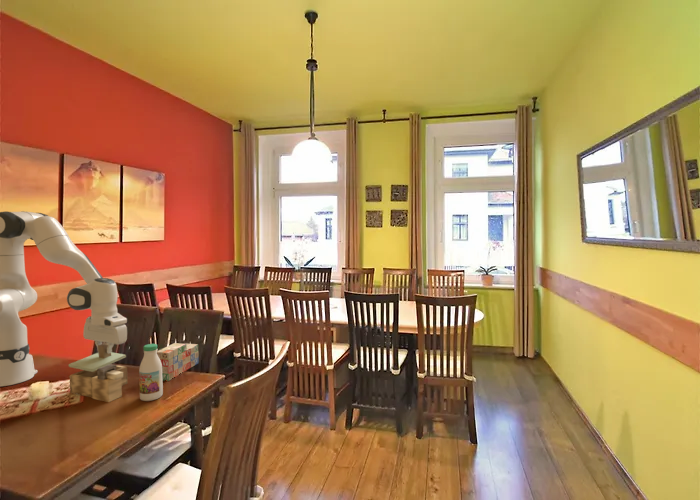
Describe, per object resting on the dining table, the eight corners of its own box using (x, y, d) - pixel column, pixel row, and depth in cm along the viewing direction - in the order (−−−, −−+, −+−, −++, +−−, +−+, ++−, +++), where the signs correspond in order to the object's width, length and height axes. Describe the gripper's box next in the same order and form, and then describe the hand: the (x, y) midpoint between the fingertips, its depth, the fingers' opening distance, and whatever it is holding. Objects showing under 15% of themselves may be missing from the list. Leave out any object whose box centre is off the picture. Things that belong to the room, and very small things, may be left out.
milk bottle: (146, 392, 143) (145, 342, 142) (166, 392, 143) (165, 342, 142) (135, 401, 136) (134, 348, 135) (156, 401, 136) (155, 348, 135)
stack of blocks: (187, 362, 176) (186, 337, 176) (199, 363, 175) (198, 337, 175) (155, 379, 155) (155, 351, 155) (168, 381, 154) (168, 352, 154)
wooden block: (98, 376, 138) (98, 371, 138) (105, 374, 140) (105, 368, 140) (116, 380, 135) (116, 374, 135) (123, 377, 138) (123, 372, 137)
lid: (68, 366, 142) (67, 352, 142) (103, 352, 155) (102, 339, 155) (92, 371, 138) (91, 356, 137) (126, 357, 151) (124, 343, 150)
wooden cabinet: (68, 393, 142) (67, 363, 141) (104, 379, 156) (103, 351, 155) (108, 402, 135) (108, 370, 134) (143, 386, 149) (142, 357, 148)
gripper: (78, 317, 149) (78, 350, 150) (115, 322, 142) (115, 357, 143) (94, 314, 155) (94, 346, 156) (130, 319, 148) (130, 353, 149)
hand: (104, 352), depth 149 cm, fingers closed on lid, 3 cm apart
